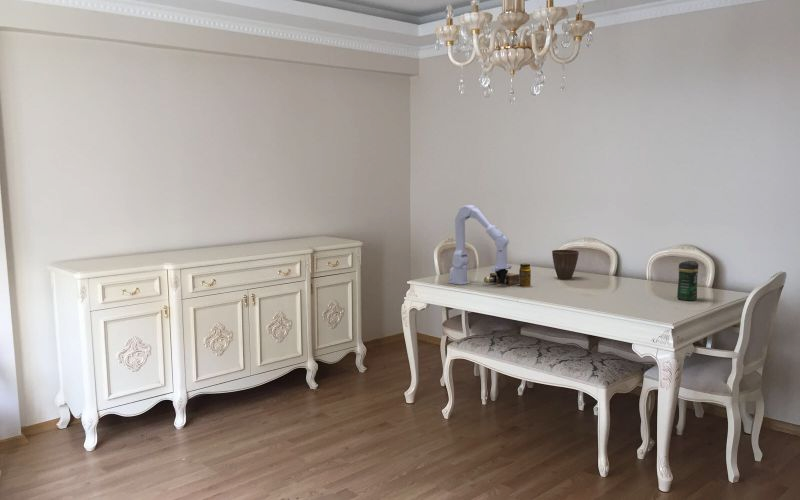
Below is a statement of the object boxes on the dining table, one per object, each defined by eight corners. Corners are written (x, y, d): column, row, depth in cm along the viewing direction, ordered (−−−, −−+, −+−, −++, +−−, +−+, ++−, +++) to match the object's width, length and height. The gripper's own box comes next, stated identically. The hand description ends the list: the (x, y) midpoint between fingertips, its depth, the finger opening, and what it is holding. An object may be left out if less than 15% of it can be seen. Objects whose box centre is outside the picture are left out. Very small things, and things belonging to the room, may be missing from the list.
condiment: (534, 286, 360) (534, 264, 359) (522, 288, 355) (522, 265, 354) (524, 284, 366) (524, 262, 365) (513, 286, 362) (513, 264, 360)
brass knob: (484, 283, 365) (484, 276, 365) (493, 281, 371) (494, 275, 371) (488, 283, 363) (488, 277, 362) (498, 281, 369) (498, 275, 368)
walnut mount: (489, 283, 371) (489, 273, 370) (498, 281, 376) (498, 271, 376) (510, 286, 361) (510, 275, 360) (519, 284, 366) (519, 274, 366)
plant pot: (583, 279, 382) (584, 251, 380) (565, 281, 373) (566, 253, 371) (563, 276, 394) (564, 249, 392) (546, 278, 385) (546, 251, 384)
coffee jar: (691, 301, 313) (693, 262, 311) (674, 299, 319) (676, 261, 317) (699, 298, 320) (701, 260, 318) (682, 296, 326) (684, 259, 324)
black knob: (500, 283, 362) (500, 277, 362) (510, 281, 368) (510, 275, 368) (505, 284, 360) (505, 278, 360) (515, 282, 366) (515, 276, 366)
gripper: (499, 260, 351) (499, 285, 352) (515, 257, 361) (515, 282, 362) (488, 259, 356) (488, 284, 357) (505, 256, 366) (505, 281, 367)
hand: (501, 283), depth 360 cm, fingers closed
